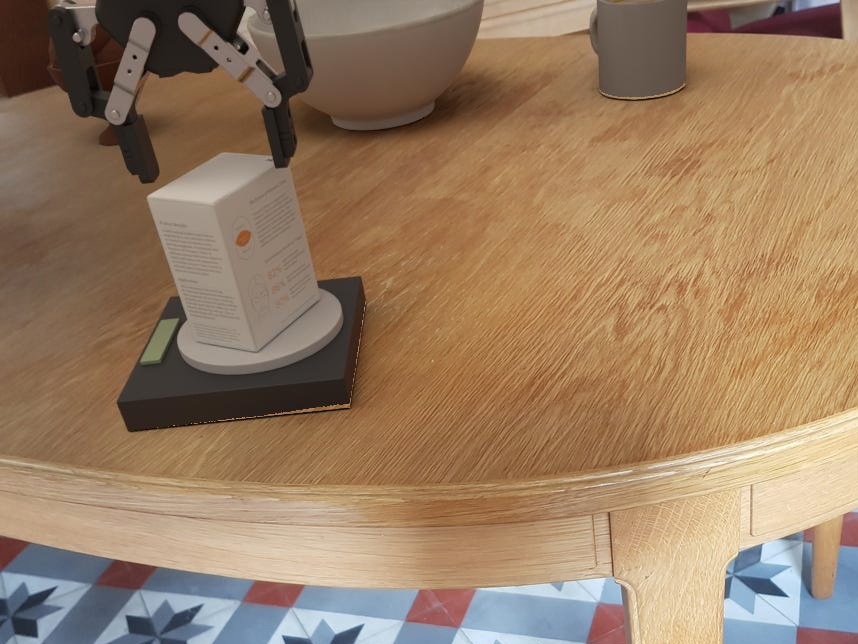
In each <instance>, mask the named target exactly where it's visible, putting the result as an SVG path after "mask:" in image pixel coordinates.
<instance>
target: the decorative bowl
mask: <svg viewBox="0 0 858 644" xmlns="http://www.w3.org/2000/svg"><path fill="white" fill-rule="evenodd" d="M296 4H297V8H298V12H299V16H300V20H301V24H302V28H303V32H304V35H305V39H306V43H307V47H308V51H309V55H310V59H311V63H312V67H313V71H314V74H313V77H312V79H311V82H310V84H309V87H308V89H307V90H306V91H305V92H303V93H298V94H296V95H294V97H295V96H296V98H298V99H299V100H300V101H302V102H303V103H305V104H306V105H308V106H310V107H311V108H313V109H315V110H317V111H319V112H322V113H324V114H326V115H329V116H330V118H331V121H332V123H333V125H335V126H336V127H338V128H341V129H343V130H344V129H345V130H349V131H377V130H386V129H392V128H397V127H401V126H404V125H408V124H411V123H414V122H417V121H419V120H421V119H423V117H424V118H426V117H427V116H428V115H430V114H431V113H432V112H433V111H434V109H435V100H436V99H438V97H439V96H441V95H442V94H444V92H445V91H446V90H447V89H448V88H449V87H450V86H451V85H452V84H453V83H454V82H455V80H456V79H457V78H458V77H459V75H460V73H461V72H462V71H463V68H464V67H465V65H466V63H467V61H468V59H469V57H470V55H471V53H472V50H473V48H474V46H475V43H476V40H477V38H478V35H479V30H480V27H481V23H482V18H483V13H484V7H485V0H296ZM246 28H247V31H248V34H249V36H250V38H251V40H252V43H253V44H254V47H255V48H256V49H257V50H258V51H259V52H260V54H261V56H262V58H263V59H264V60H265V61H266V62H267V63H268V64H269V65H270V66H271V67H272V68H273V69H274V70H275V71H276V72H277V73H278V74H280V73H282V72H284V71H285V69H284V65H283V62H282V58H281V54H280V51H279V47H278V43H277V40H276V36H275V32H274V29H273V25H272V24H271V25H269V24H265V23H264V22H262V21H261V20H260V18H259V16H258V14H257V12H256V11H255V12H254V13H253V14H252V15H251V16H250V17H249V18H248V20H247V21H246Z"/></svg>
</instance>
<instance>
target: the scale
mask: <svg viewBox="0 0 858 644" xmlns="http://www.w3.org/2000/svg"><path fill="white" fill-rule="evenodd" d="M317 284H318V289H319V293H320V299H319V300H318V301H317V302H316V303H314V304H313V305H312V306H311V307H310V308H309V309H307V310H306V311H305V312H304V313H303V314H302V315H300V316H299V317H298V318H297V319H296V320H294V321H293V322H292V323H291V324H290V325H288V326H287V327H286V328H285V329H284V330H283V331H281V332H280V333H279V334H278V335H277V336H275V337H274V338H273V339H272V340H271V341H270V342H268V343H267V344H266V345H265V346H264V347H262V348H261V349H260V350H259V351H258V352H252V351H246V350H240V349H235V348H229V347H224V346H218V345H212V344H206V343H200V342H196V341H195V339H194V337H193V334H192V331H191V328H190V325H189V322H188V319H187V317H186V314H185V311H184V308H183V305H182V302H181V299H180V296H179V295H175V296H170V297H169V298H168V300H167V303H166V304H165V306H164V308H163V310H162V312H161V314H160V316H159V318H158V320H157V322H156V324H155V326H154V327H153V330H152V332H151V333H150V335H149V337H148V339H147V341H146V342H145V345H144V347H143V349H142V351H141V353H140V354H139V357H138V359H137V360H136V362H135V365H134V366H133V368H132V370H131V372H130V375H129V376H128V378H127V380H126V382H125V384H124V386H123V388H122V389H121V391H120V393H119V396H118V397H117V400H116V402H115V403H116V405H117V408H118V410H119V412H120V415H121V418H122V420H123V423H124V425H125V427H126V430H127V432H136V431H135V430H138V431H146V430H145V429H148V430H153V429H152V428H157V427H158V429H161V428H160V427H167V428H169V427H168V426H173V425H175V426H177V427H179V426H178V425H186V424H191V423H192V424H194V423H200V422H201V423H204V422H209V421H210V422H211V421H218V420H226V419H232V418H234V419H236V418H242V417H245V418H246V417H254V416H256V417H257V416H264V415H268V414H275V413H277V414H278V413H281V412H282V413H283V412H291V411H296V410H303V409H309V408H316V407H323V406H325V407H327V406H330V405H332V406H333V405H337V404H339V405H343V404H349V403H350V398H351V391H352V385H353V378H354V373H355V368H356V359H357V352H358V346H359V339H360V333H361V327H362V320H363V314H364V307H365V301H366V302H367V297H366V293H365V289H364V287H365V286H364V282H363V278H362V275H356V276H347V277H346V276H345V277H337V278H330V279H319V280H317ZM186 426H187V425H186ZM150 428H151V429H150ZM142 429H143V430H142Z"/></svg>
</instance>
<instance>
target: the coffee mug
mask: <svg viewBox="0 0 858 644" xmlns="http://www.w3.org/2000/svg"><path fill="white" fill-rule="evenodd" d="M588 30H589V31H588V32H589V40H590V43H591V47H592V50H593V51H594V53H595V54H596V55H597V57H598V58H597V59H598V62H597V63H598V90H599V89H600V90H601V92H603V93H605V94H608V95H612V96H617V97H630V98H631V97H645V96H646V97H647V96H654V95H660V94H664V93H667V92H671V91H673V90H676V89H678V88H680V87H681V86H683V84H684V83H685V81H687V38H688V37H687V36H688V0H596V6H595V8H593V10H592V11H591V13H590V16H589V25H588Z"/></svg>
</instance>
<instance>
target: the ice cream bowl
mask: <svg viewBox="0 0 858 644" xmlns="http://www.w3.org/2000/svg"><path fill="white" fill-rule="evenodd" d="M95 30H96V37H95V39H94V40H93V41H92V42H91V43H90V46H91V50H92V53H93V57H94V61H95V64H96V68H97V72H98V75H99V79H100V83H101V86H102V90H103V91H107V92H112V89H113V86H114V80H115V77H116V74H117V71H118V68H119V66H120V63H121V60H122V57H123V54H124V52H125V50H124V49H123V48H122V47H121V46H120V45H119V44H118V43H117V42H116V41H115V40H114V39H113V38H112V37H111V36H110V35H108V34H107V33H106V32H105V31H104V30H103V29H102V28H101V26H100V25H99V24H97V25H96V28H95ZM47 50H48V56H49V60H50V62H49V64H48V65H47V67H46V70H47V71H48V74H49V75H50V77H51V78H52V80H53V82H54V83H55V84H56V86H58V87H59V88H60V89H61V91H63V92H65V93H66V94H68V93H67V89H66V86H65V82H64V79H63V76H62V72H61V69H60V65H59V62H58V59H57V55H56V52H55V48H54V45H53V42H52V38H51V36H50V37H49V44H48V49H47ZM98 144H100V145H104V146H119V143H118V140H117V137H116V134H115V131H114V129H113V127H112V125H111V124H110V123H109V122H108V126H107V127H106V128H105V129H104V130H103V131H102V132H101V134H100V135H99V138H98Z"/></svg>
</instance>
